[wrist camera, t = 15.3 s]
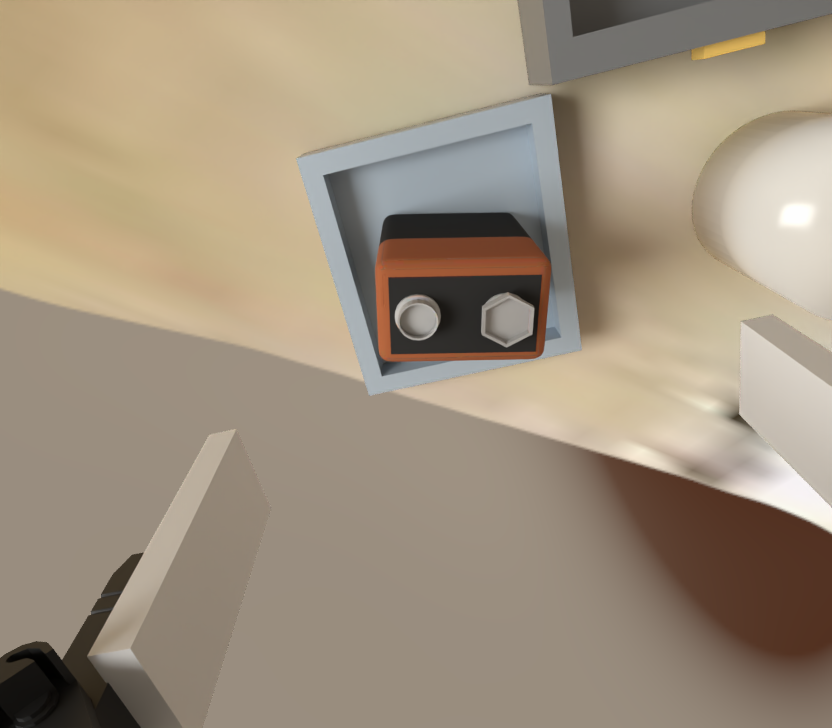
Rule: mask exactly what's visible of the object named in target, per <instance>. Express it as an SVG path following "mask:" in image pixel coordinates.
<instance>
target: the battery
mask: <svg viewBox="0 0 832 728" xmlns="http://www.w3.org/2000/svg"><path fill="white" fill-rule="evenodd" d="M550 279H551V263H550V261H549V260H548V258H547V257H546V256H545V255H544V253H543V252H542V251H541V250H540V248H539V247H538V246H537V245H536V243H535V242H534V241H533V240H532V239H531V237H530V236H529V235H528V234H527V232H526V231H525V230H524V229H523V227H522V226H521V225H520V224H519V222H518V221H517V220H516V219H515V217H514V216H513V215H512V214H510V213H440V214H394V215H389V216H387V217H386V218H385V219H384V221H383V226H382V231H381V237H380V243H379V248H378V254H377V260H376V265H375V285H376V306H377V328H378V348H379V354H380V356H381V357H382V358H383V359H384V360H386V361H391V362H412V361H466V360H519V359H535V358H538V357H540V356H541V355H542V353H543V352H544V346H545V335H546V324H547V313H548V302H549V291H550Z"/></svg>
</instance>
